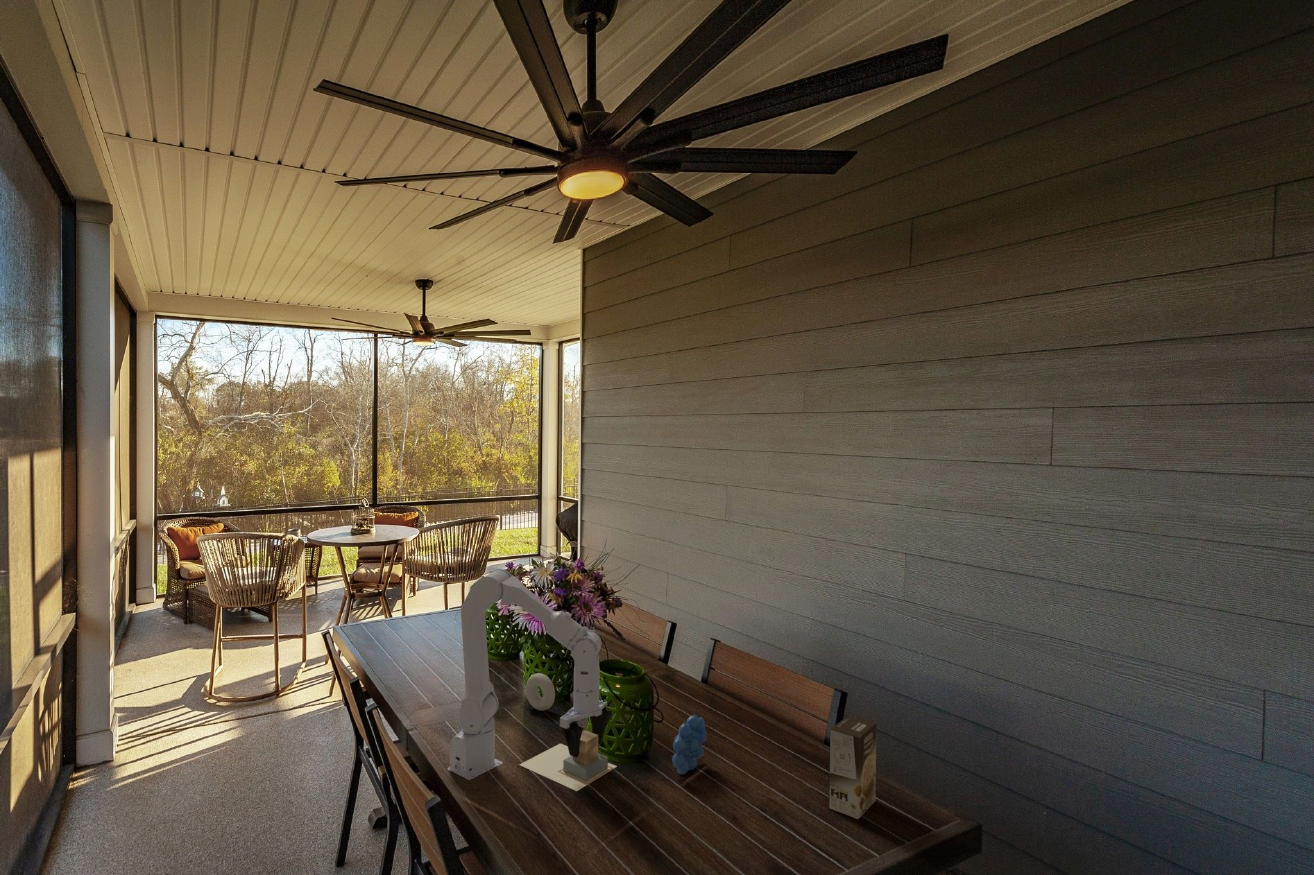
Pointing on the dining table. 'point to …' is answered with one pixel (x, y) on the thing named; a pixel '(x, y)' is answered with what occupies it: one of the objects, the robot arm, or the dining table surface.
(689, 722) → the blue lumpy rounded block
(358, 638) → the dining table surface
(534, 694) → the donut
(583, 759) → the maple block
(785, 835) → the dining table surface
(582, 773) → the slate slab
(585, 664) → the robot arm
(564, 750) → the white flat sheet
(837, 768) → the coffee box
